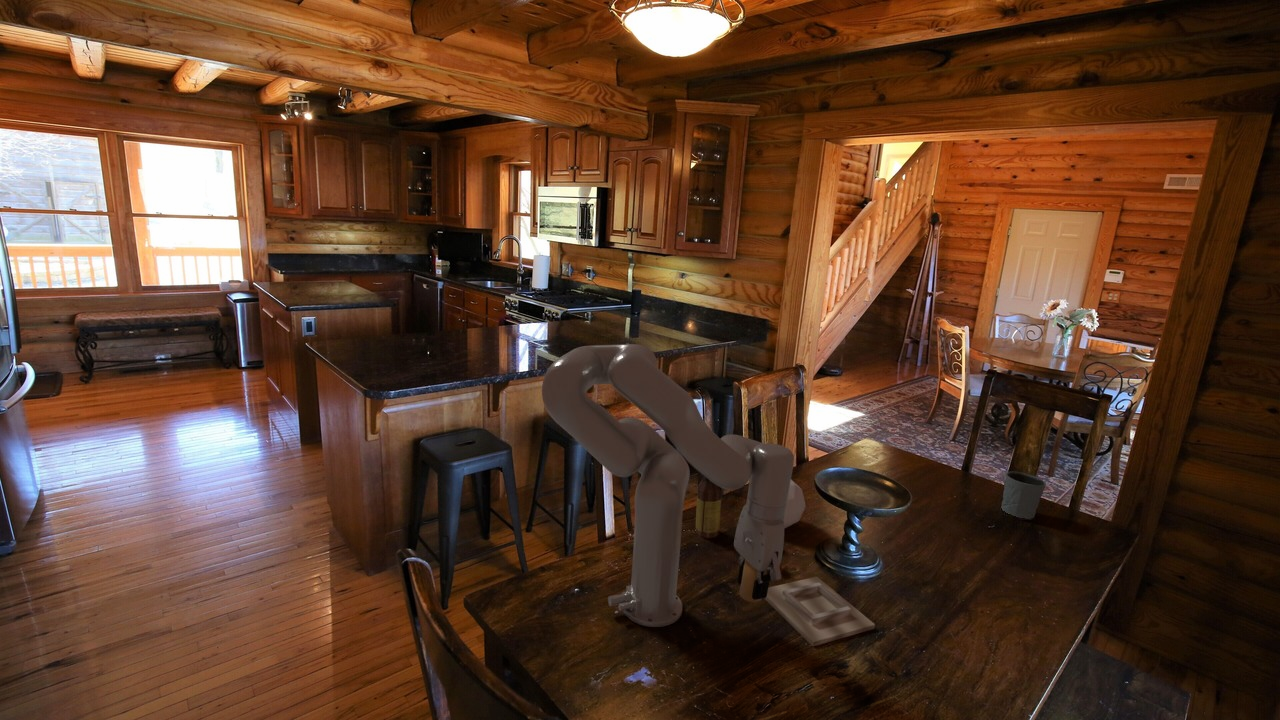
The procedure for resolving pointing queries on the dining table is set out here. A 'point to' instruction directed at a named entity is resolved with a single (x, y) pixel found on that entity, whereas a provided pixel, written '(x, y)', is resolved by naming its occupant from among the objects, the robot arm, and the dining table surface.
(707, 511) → the sauce bottle
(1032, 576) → the dining table surface
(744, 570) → the tan rounded oblong piece
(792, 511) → the geodesic sphere
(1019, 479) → the gray cup
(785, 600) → the grey square framed plate
